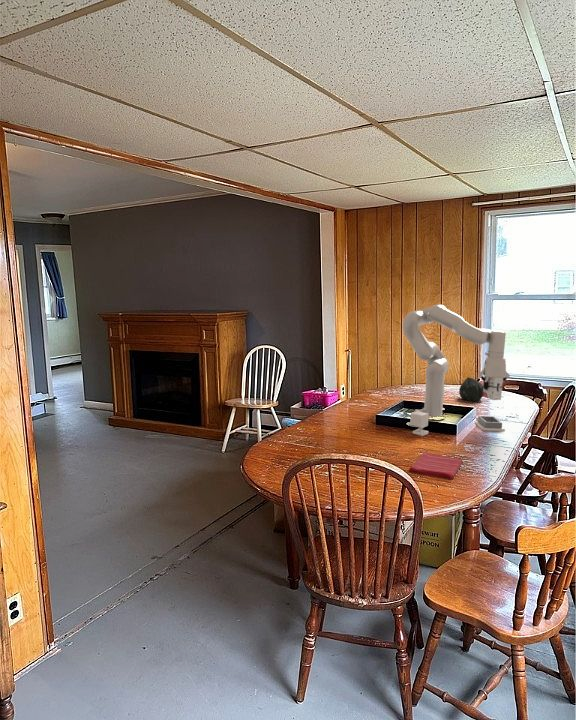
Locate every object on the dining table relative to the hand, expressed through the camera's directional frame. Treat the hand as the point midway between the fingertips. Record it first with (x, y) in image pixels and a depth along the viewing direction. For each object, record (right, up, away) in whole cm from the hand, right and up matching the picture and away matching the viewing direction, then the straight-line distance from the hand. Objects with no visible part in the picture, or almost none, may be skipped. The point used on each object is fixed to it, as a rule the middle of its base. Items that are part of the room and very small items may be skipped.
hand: (492, 389), depth 273 cm
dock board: (-1, -19, +3) cm, 20 cm away
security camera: (-40, -21, -12) cm, 47 cm away
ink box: (0, -5, +1) cm, 5 cm away
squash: (+10, -10, +62) cm, 64 cm away
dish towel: (-45, -29, -57) cm, 78 cm away
